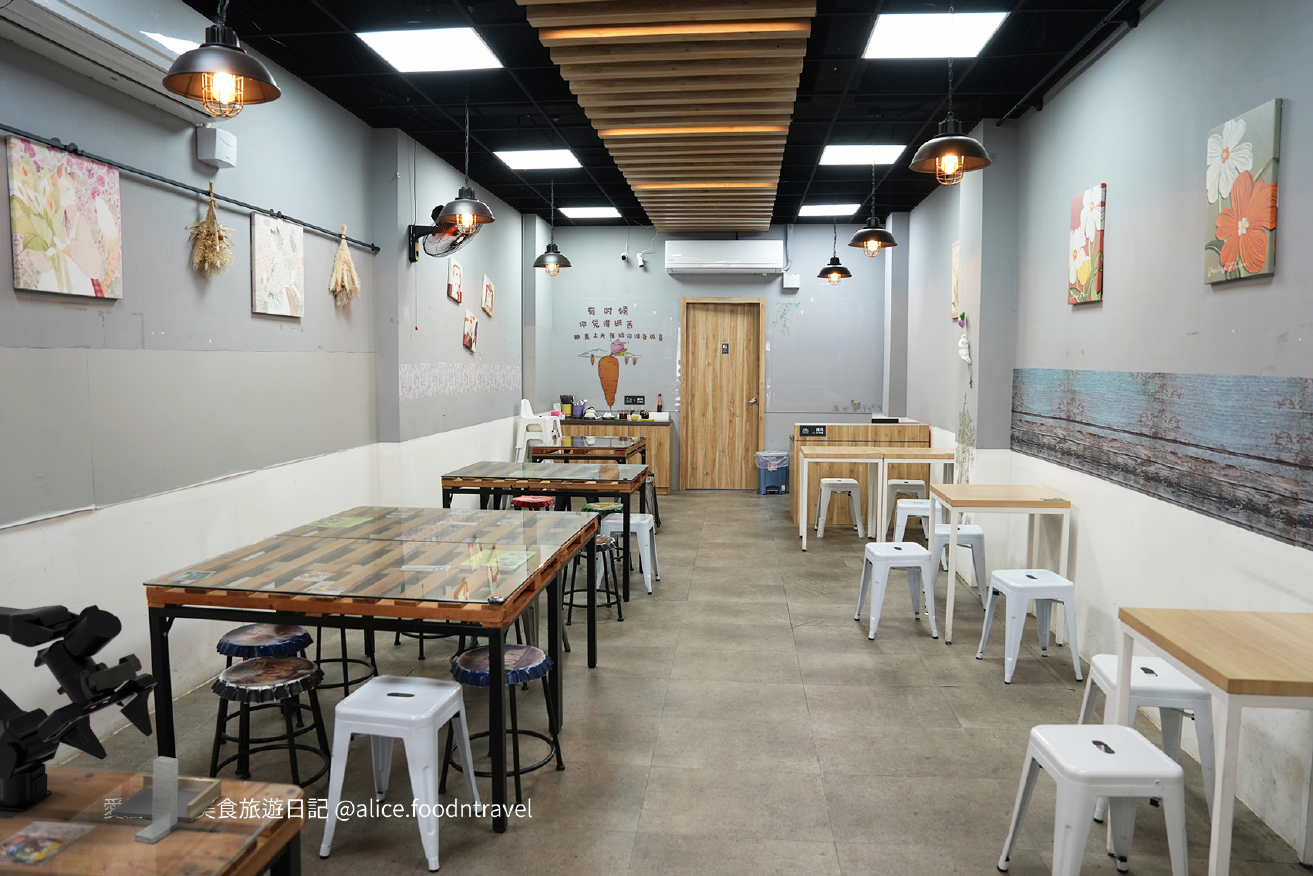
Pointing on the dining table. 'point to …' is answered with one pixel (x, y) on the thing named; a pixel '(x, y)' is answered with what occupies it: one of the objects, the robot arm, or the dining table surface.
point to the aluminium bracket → (162, 801)
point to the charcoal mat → (143, 805)
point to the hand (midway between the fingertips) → (128, 746)
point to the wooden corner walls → (205, 786)
